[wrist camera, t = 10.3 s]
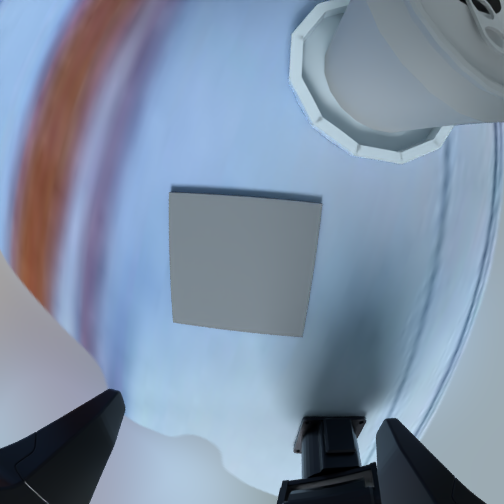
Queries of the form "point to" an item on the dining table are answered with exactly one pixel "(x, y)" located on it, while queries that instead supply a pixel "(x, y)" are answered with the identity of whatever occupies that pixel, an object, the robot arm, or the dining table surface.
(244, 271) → the mat
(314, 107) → the dish
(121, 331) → the dining table surface
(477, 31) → the can
